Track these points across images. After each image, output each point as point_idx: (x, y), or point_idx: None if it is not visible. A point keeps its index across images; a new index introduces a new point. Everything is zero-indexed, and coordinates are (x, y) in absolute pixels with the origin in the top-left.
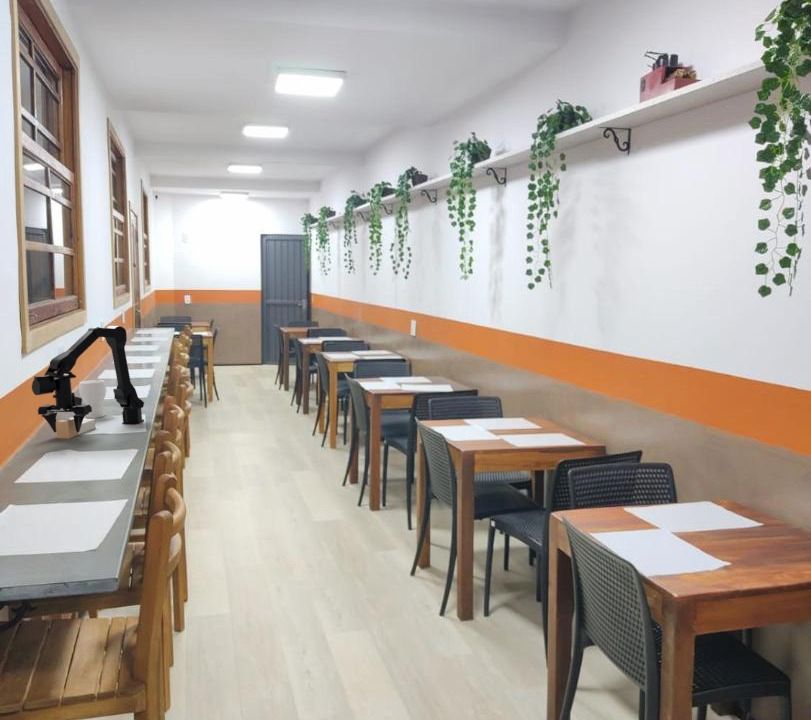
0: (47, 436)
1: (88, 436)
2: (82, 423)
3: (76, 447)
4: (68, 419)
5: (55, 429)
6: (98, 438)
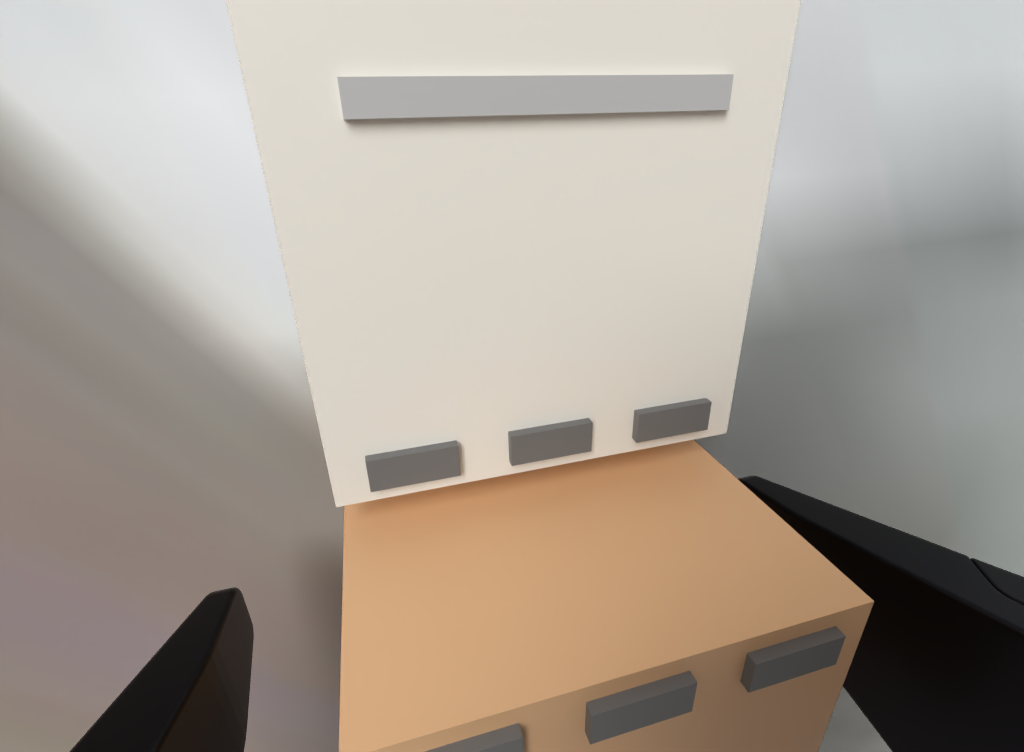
0: (14, 566)
1: (823, 398)
2: (774, 133)
3: (844, 744)
4: (616, 718)
5: (237, 673)
6: (966, 460)
